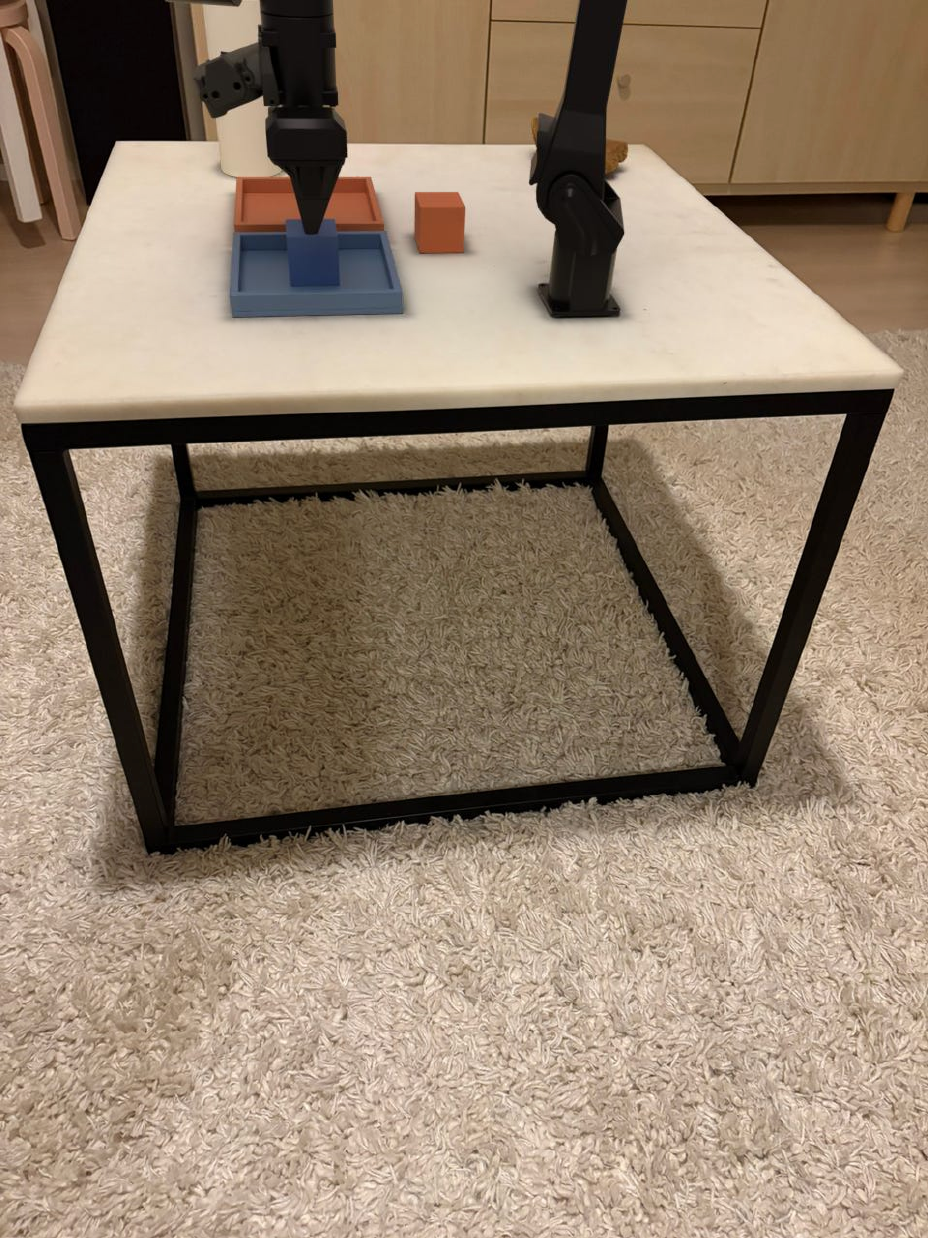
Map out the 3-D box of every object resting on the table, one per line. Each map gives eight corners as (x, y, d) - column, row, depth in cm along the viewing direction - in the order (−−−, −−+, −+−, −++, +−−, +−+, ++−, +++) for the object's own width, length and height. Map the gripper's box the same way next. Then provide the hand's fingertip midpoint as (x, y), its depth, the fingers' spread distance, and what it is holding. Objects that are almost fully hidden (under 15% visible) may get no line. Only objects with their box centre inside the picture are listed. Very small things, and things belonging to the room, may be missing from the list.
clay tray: (384, 243, 96) (384, 223, 95) (235, 244, 94) (233, 224, 93) (371, 194, 107) (371, 176, 106) (238, 195, 105) (236, 176, 104)
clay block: (463, 252, 96) (465, 206, 93) (419, 253, 95) (420, 206, 92) (456, 236, 99) (458, 191, 96) (414, 236, 98) (414, 191, 95)
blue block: (339, 285, 87) (337, 236, 84) (290, 286, 86) (286, 236, 83) (336, 266, 90) (334, 218, 87) (289, 267, 89) (285, 218, 86)
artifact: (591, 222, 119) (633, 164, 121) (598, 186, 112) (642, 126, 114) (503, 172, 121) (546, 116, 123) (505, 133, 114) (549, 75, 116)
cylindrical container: (270, 180, 109) (247, -87, 93) (211, 174, 110) (179, -93, 93) (290, 163, 115) (272, -93, 98) (235, 156, 115) (208, -99, 99)
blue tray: (402, 313, 84) (402, 291, 83) (232, 317, 82) (229, 294, 80) (386, 250, 95) (386, 230, 94) (235, 252, 93) (233, 232, 91)
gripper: (197, -13, 80) (220, 182, 90) (184, 32, 66) (213, 256, 76) (329, -9, 81) (337, 181, 92) (344, 36, 68) (351, 254, 78)
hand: (309, 215), depth 84 cm, fingers open, 9 cm apart
